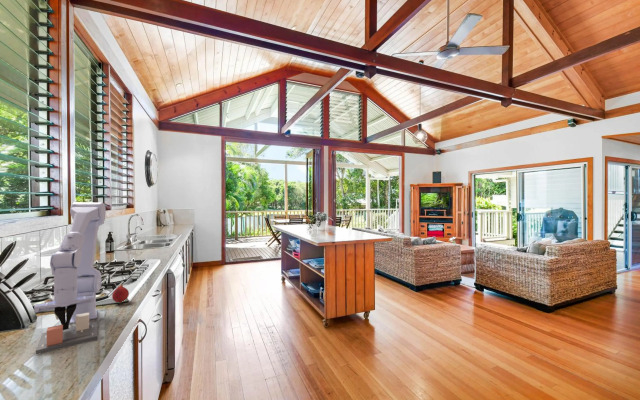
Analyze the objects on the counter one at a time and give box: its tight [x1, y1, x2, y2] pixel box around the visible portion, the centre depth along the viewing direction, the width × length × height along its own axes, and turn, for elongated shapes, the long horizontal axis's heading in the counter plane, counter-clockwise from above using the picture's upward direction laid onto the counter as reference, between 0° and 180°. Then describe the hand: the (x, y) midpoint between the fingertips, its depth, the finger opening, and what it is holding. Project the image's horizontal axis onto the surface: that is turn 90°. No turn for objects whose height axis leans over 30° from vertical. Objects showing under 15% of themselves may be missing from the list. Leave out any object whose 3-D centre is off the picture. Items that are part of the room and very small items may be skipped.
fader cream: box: [75, 313, 90, 331], centre depth 95 cm, size 3×3×5 cm
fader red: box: [46, 324, 63, 346], centre depth 86 cm, size 3×3×5 cm
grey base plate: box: [35, 321, 98, 355], centre depth 91 cm, size 13×14×1 cm
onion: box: [111, 284, 130, 303], centre depth 121 cm, size 6×6×8 cm
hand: (65, 328), depth 92 cm, fingers closed
